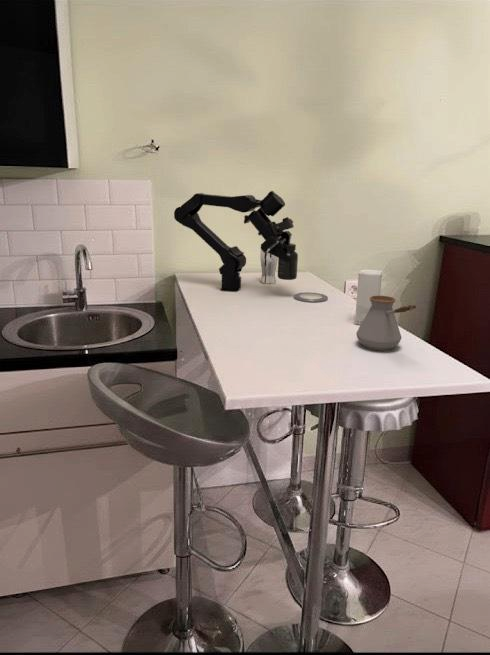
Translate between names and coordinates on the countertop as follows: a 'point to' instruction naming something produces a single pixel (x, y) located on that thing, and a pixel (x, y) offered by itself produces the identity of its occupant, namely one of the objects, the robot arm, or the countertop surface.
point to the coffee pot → (381, 324)
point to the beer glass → (268, 267)
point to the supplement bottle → (288, 263)
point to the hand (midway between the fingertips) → (291, 259)
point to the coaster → (310, 297)
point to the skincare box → (366, 292)
